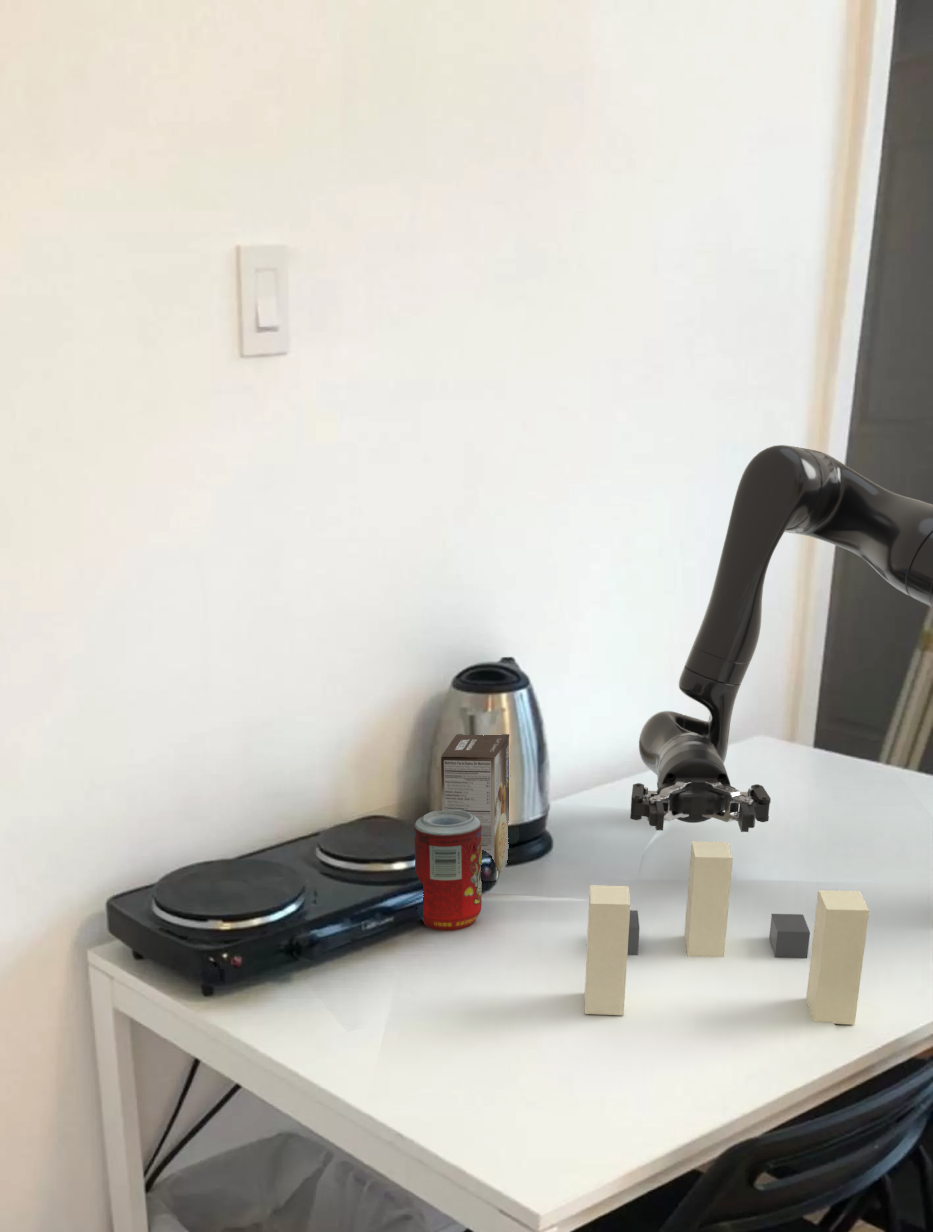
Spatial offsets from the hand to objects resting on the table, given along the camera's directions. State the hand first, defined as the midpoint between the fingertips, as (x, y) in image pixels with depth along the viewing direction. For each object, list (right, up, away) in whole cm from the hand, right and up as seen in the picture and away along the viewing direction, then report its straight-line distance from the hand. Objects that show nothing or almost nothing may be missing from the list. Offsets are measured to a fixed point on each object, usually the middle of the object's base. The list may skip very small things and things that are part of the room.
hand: (703, 822), depth 156 cm
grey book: (-9, -13, -3) cm, 17 cm away
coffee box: (-20, -4, +20) cm, 29 cm away
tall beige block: (-2, -14, -5) cm, 15 cm away
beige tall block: (+5, -20, -20) cm, 28 cm away
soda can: (-26, -11, +6) cm, 28 cm away
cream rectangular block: (-15, -19, -15) cm, 28 cm away
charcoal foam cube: (+6, -14, -7) cm, 17 cm away
